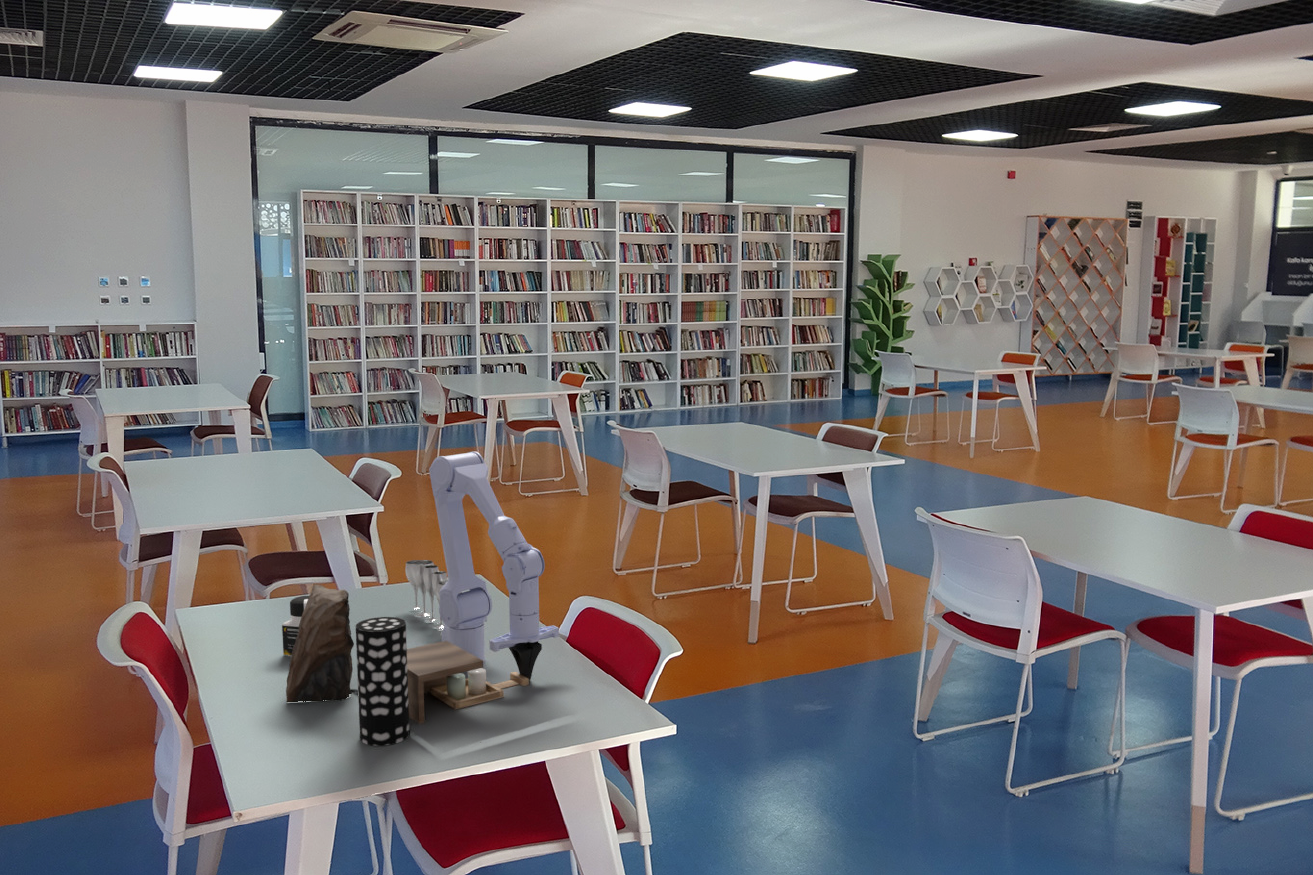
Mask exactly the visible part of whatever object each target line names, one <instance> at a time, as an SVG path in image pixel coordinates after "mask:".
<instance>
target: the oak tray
mask: <svg viewBox="0 0 1313 875" xmlns="http://www.w3.org/2000/svg"><path fill="white" fill-rule="evenodd" d="M509 677H510V678H509V680H506V681H502V682H498V683H494V684H493V683H491V682H489V681H487V680H486V689H487V691H486V693H484V694H480V695H472V694H469V693H468V677H467V678H465V688H466V697H465V698H464V699H461V700H455V699H453V698H452V697H450V696H449V695H447V684H443V685H439V686H435V687H431V691H430V694H431V695H432V696H433V697H435V698H437V699H439V700H440V701H442V703H445V704H446V705H448V706H449V707H451V708H452V709H453V710H460V709H463V708H467V707H469V706H474V705H477V704H481V703H485V702H489V701H492V700H493V701H494V700H496V699H502V698H504V697H505V696H504V694H505V693H504V692H505V691H504V689H508V688H512V687H515V686H519V685H520V686H523V687H524V686H528V685H530V682H529V681H530V680H529V679H528V678H526V677H525V676H523V675H521V674H520V673H519V672H517V671H513V672H509Z"/></svg>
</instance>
